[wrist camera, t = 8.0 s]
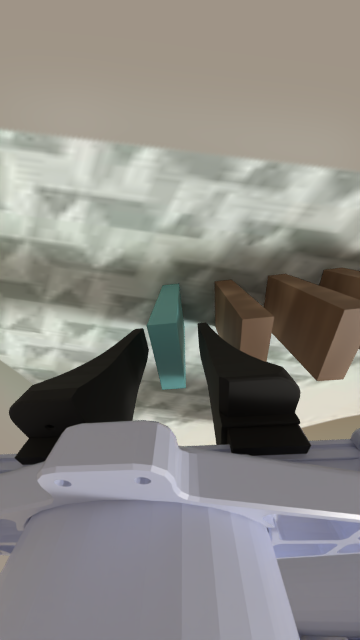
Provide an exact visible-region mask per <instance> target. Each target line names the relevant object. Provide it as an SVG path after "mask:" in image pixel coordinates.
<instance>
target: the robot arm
mask: <svg viewBox="0 0 360 640" xmlns="http://www.w3.org/2000/svg"><path fill="white" fill-rule="evenodd" d="M198 337H199V349H200V356H201V361H202V365H203V368H204V372H205V376H206V380H207V384H208V390H209V396H210V403H211V409H212V416H213V423H214V430H215V437H216V444H217V445H205V446H178V444H177V439H176V436H175V435H174V433H173V432H172V431H171V429H170V428H169V427H168V426H166V425H163V424H161V423H159V422H156V421H146V420H138V421H132V419H133V413H134V408H135V403H136V397H137V393H138V389H139V385H140V382H141V379H142V376H143V373H144V369H145V366H146V363H147V358H148V352H149V349H148V345H147V341H146V337H145V333H144V329H143V328H141V329H135V330H133V331H132V332H131V333H129V334H128V335H127V336H126V337H124V338H123V339H122V340H121V341H119V342H118V343H117V344H115V345H114V346H113V347H111V348H110V349H108V350H107V351H106V352H104V353H103V354H101V355H99V356H98V357H96V358H94V359H93V360H91V361H89V362H87V363H85V364H83V365H81V366H79V367H77V368H75V369H73V370H71V371H69V372H66V373H64V374H62V375H59V376H57V377H54V378H51V379H49V380H46V381H43V382H41V383H38V384H35V385H32V386H31V387H30V388H29V389H28V390H27V391H26V392H25V393H24V394H23V395H22V396H21V397H20V398H19V399H18V400H17V401H16V402H15V403H14V404H13V405H12V406H11V407H10V410H9V415H10V418H11V420H12V421H13V422H14V423H15V425H16V426H17V427H18V428H19V429H20V430H21V431H22V432H23V433H24V434H26V436H27V437H28V438H29V439H28V441H27V442H26V443H25V444H24V446H23V447H22V448H21V450H20V451H19V452H18V454H1V455H0V555H7V556H9V558H8V560H7V562H6V564H5V566H4V568H3V569H2V571H1V573H0V640H360V428H359V429H357V430H355V431H354V432H353V434H352V436H351V439H341V440H320V441H319V440H318V441H308V439H307V437H306V436H305V434H304V433H303V431H302V429H301V428H300V426H299V424H300V420H299V418H298V417H297V415H296V414H295V410H296V407H297V404H298V401H299V398H300V389H299V386H298V385H297V384H296V382H295V381H294V380H293V378H292V377H291V376H290V375H289V374H288V372H287V371H286V370H285V369H284V368H283V367H281V366H278V365H275V364H272V363H268V362H265V361H262V360H260V359H257V358H255V357H253V356H250V355H248V354H246V353H244V352H242V351H240V350H238V349H237V348H235V347H233V346H232V345H230V344H229V343H227V342H226V341H225V340H223V339H222V338H221V337H220V336H219V335H218V334H216V333H215V332H214V331H213V330H212V329H211V328H210V326H209V325H208V324H207V323H198Z"/></svg>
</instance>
